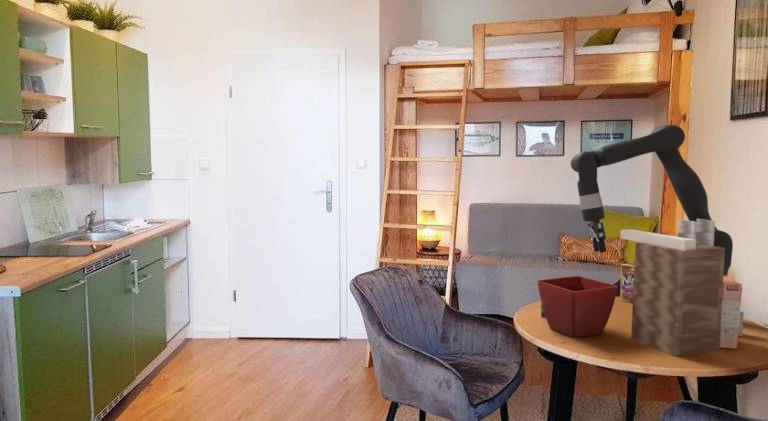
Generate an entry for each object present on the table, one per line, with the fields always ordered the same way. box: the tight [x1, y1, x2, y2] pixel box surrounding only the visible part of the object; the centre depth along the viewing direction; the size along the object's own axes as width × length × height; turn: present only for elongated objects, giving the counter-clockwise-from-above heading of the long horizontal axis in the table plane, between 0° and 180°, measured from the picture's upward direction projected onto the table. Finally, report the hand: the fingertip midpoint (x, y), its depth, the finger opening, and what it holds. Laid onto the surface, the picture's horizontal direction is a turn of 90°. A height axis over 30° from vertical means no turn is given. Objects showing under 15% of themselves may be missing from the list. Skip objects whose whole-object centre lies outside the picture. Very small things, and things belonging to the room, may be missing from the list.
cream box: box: [619, 228, 696, 250], centre depth 185 cm, size 26×4×3 cm, turn 21°
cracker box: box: [719, 276, 743, 350], centre depth 187 cm, size 14×6×21 cm, turn 170°
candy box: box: [619, 263, 635, 304], centre depth 238 cm, size 9×4×15 cm, turn 35°
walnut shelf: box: [630, 219, 725, 357], centre depth 184 cm, size 18×18×40 cm
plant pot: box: [537, 275, 619, 338], centre depth 198 cm, size 19×19×17 cm
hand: (600, 251), depth 207 cm, fingers open, 8 cm apart
